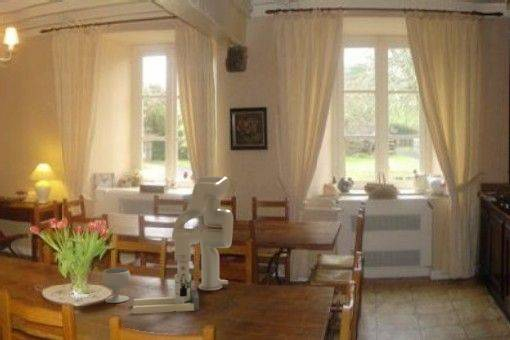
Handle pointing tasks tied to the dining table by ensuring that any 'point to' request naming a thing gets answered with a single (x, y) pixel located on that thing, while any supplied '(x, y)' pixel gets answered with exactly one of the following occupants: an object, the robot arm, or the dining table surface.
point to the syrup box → (177, 291)
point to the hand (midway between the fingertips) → (183, 293)
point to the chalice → (116, 283)
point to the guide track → (164, 304)
